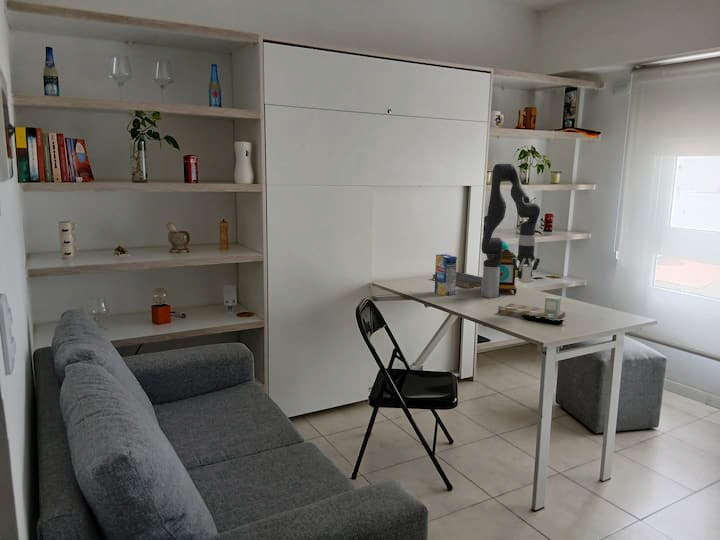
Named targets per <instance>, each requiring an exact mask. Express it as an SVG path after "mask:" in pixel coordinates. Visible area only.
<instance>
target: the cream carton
mask: <svg viewBox="0 0 720 540" xmlns="http://www.w3.org/2000/svg"><path fill="white" fill-rule="evenodd" d="M531 279H532V277H531V267H530V266H527V265H523V267H522V269H521V279H519V278H518V282H519V283H521V284H531Z"/></svg>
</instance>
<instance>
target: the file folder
mask: <svg viewBox="0 0 720 540" xmlns="http://www.w3.org/2000/svg"><path fill="white" fill-rule="evenodd" d="M433 279H435V273H434V274H432V280H433ZM481 279H483V276H477V275H473V274H469V273H463V272H460V271H459V272H458V271H456V286H458V285H459V286H458V287H462V286H463V288H465V289H473V288H474V287H476V288H481ZM474 289H475V288H474Z"/></svg>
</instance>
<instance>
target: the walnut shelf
mask: <svg viewBox="0 0 720 540" xmlns="http://www.w3.org/2000/svg"><path fill="white" fill-rule="evenodd" d="M497 309H498V310H497V313H498V314H501V315H506V316H513V317H517V318H523V317H522V316H523V315H529V316H535V317H545V318H550V319H560V320H561V319H562V318H564V317H565V316H566V311H562V310H560V314H559V315H557V316H556V315H553V314H547V313H544V312H545V308H542V307H537V306H536V307H535V306H529V305H522V304H517V303H512V302H511V303H509V304H506V305H502V306H501V305H498V308H497Z"/></svg>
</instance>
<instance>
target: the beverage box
mask: <svg viewBox="0 0 720 540" xmlns="http://www.w3.org/2000/svg"><path fill="white" fill-rule="evenodd" d="M457 262H458V257H457V256H454V255H450V254H447V253H445V254H443V253H442V254H436V255H435V269H434V270H435V271H434V272H435V273H434V274H435V280H434V293H436V294H439V295H442V296H443V297H451V296H456V286H457V285H456V272H457V264H458V263H457Z"/></svg>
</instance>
